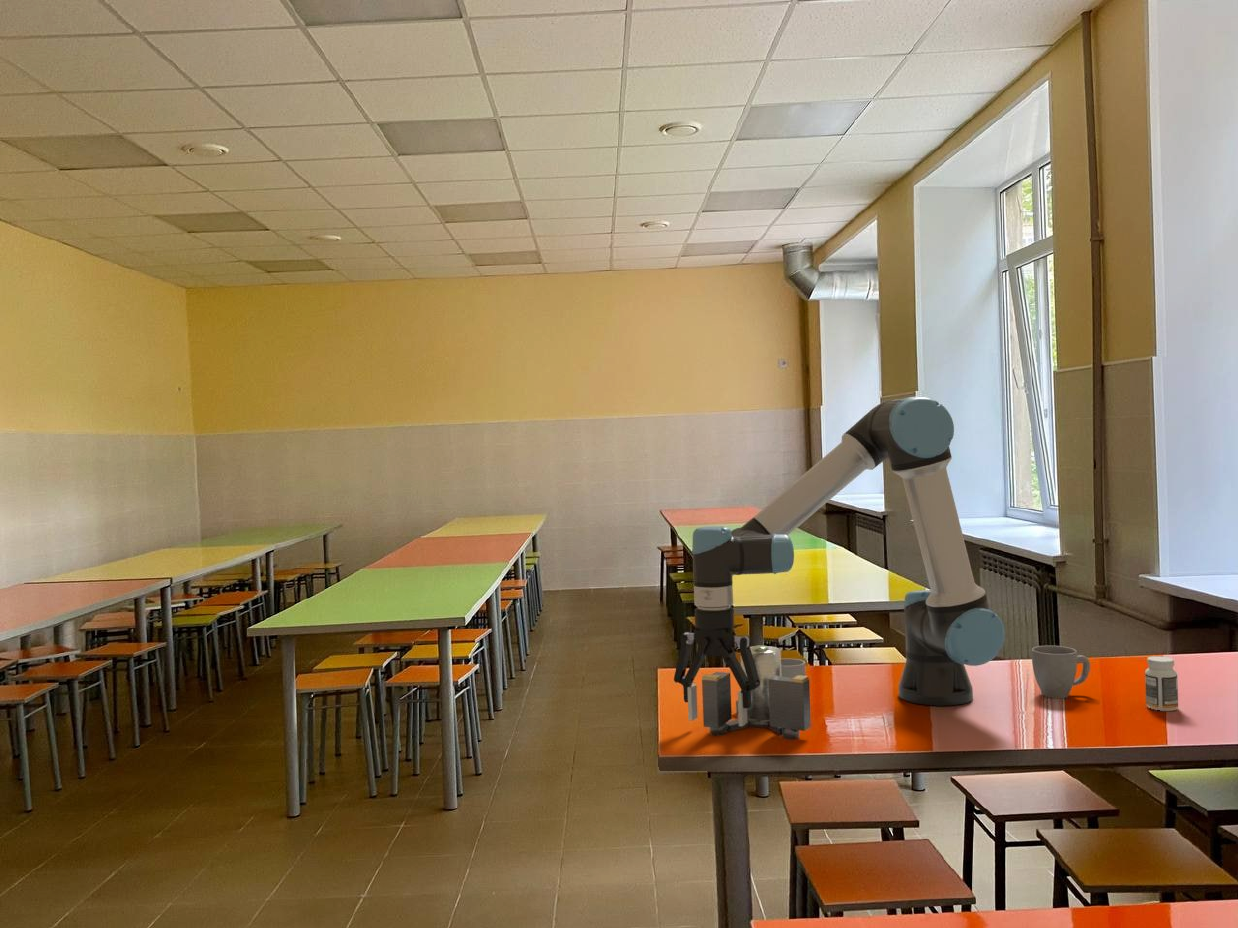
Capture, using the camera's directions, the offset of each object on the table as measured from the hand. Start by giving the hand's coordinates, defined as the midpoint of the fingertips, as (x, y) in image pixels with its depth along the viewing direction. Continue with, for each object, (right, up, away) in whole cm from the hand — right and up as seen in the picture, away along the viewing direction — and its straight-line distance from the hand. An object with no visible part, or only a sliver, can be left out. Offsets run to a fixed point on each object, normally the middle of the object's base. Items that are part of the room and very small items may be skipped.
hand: (717, 721), depth 191 cm
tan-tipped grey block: (0, -2, 0) cm, 2 cm away
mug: (+75, +1, +18) cm, 77 cm away
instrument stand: (+9, -2, +6) cm, 12 cm away
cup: (+16, -1, +19) cm, 25 cm away
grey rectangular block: (+13, -2, -4) cm, 14 cm away
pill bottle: (+89, +1, +6) cm, 89 cm away
